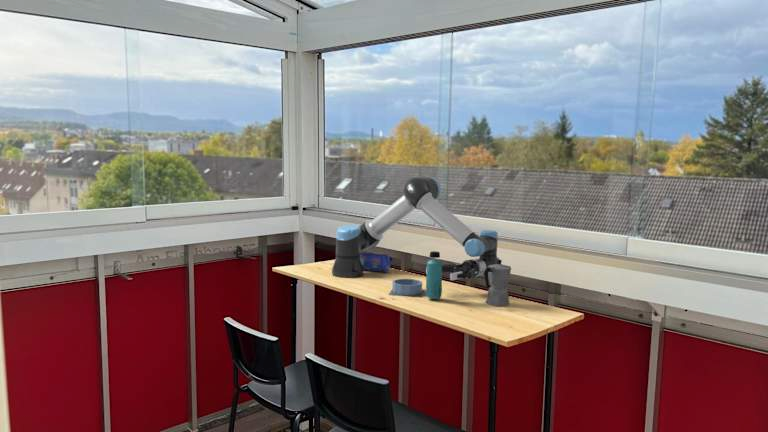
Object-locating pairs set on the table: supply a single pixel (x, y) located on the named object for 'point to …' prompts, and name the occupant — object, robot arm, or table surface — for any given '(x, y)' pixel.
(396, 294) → the mat
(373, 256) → the pencil case
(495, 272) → the coffeepot
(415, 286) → the bowl
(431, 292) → the beverage bottle
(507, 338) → the table surface
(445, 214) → the robot arm
